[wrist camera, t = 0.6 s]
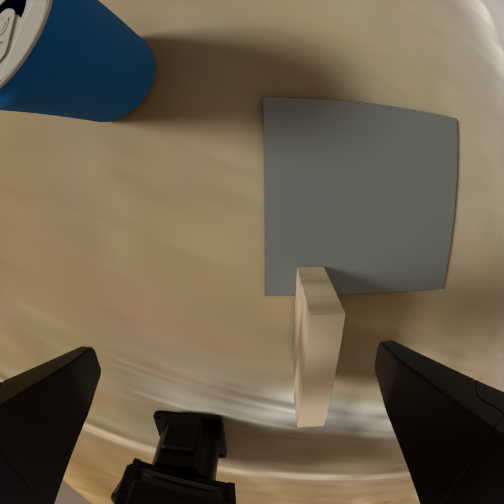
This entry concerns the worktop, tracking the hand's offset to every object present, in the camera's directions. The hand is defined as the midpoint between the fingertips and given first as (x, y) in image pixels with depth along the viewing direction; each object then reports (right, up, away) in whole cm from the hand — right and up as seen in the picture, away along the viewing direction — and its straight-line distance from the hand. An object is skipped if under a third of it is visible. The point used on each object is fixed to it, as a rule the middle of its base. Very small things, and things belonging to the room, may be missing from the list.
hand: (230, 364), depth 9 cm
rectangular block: (+5, -2, +13) cm, 14 cm away
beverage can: (-9, +15, +9) cm, 20 cm away
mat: (+8, +7, +11) cm, 15 cm away
